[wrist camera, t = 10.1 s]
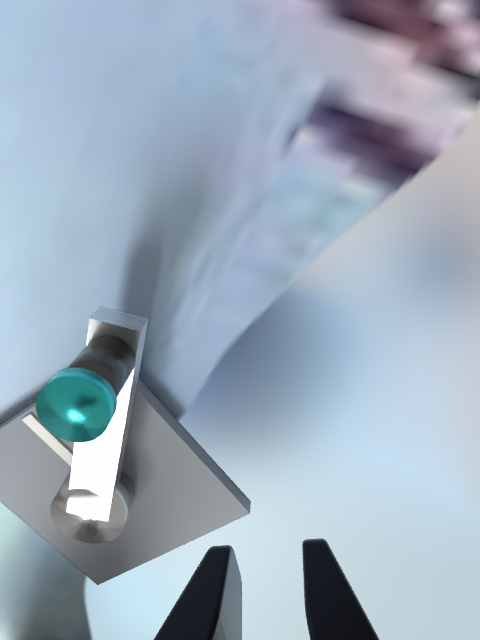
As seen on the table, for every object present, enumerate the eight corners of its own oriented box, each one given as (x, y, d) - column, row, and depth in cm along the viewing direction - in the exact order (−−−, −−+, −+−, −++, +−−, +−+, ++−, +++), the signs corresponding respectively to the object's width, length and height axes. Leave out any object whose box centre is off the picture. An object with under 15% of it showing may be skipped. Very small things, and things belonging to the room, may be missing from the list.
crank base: (250, 501, 24) (249, 514, 23) (102, 572, 27) (97, 586, 26) (112, 348, 21) (105, 358, 20) (-38, 450, 24) (-49, 462, 23)
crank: (129, 522, 24) (91, 625, 19) (62, 506, 24) (7, 606, 19) (170, 318, 19) (133, 388, 14) (86, 296, 18) (18, 359, 14)
